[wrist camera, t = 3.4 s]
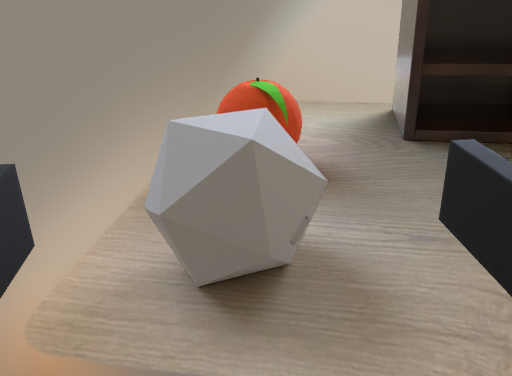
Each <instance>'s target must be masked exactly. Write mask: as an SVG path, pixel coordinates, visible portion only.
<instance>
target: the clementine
mask: <svg viewBox="0 0 512 376" xmlns="http://www.w3.org/2000/svg"><path fill="white" fill-rule="evenodd" d="M260 108H267V109H268V110H269V112H270V113H271V114H272V115H273V116H274V118H275V119H276V120H277V121H278V122H279V124H280V125H281V126H282V127H283V128H284V129H285V131H286V132H287V133H288V134H289V135H290V137H291V138H292V139H293V140H294V141H295V143H296V144H297V142H298V140H299V138H300V134H301V128H302V117H301V111H300V109H299V106H298V104H297V102H296V100H295V99H294V98H293V96H292V95H291V94H290V92H289V91H287V90H286V89H285V88H283V87H282V86H281V85H279V84H277V83H276V82H273V81H267V80H259V78H257V79H256V80H251V81H246V82H243V83H240V84H238V85H237V86H236V87H235V88H233V89H232V90H230V91H229V92H228V93H227V94H226V96H225V97H224V99H223V100H222V101H221V103H220V105H219V108H218V111H217V114H222V113H229V112H237V111H245V110H252V109H260Z"/></svg>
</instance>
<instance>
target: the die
mask: <svg viewBox="0 0 512 376" xmlns="http://www.w3.org/2000/svg"><path fill="white" fill-rule="evenodd" d="M327 184H328V181H327V179H326V178H325V177H324V176H323V175H322V173H321V172H320V171H319V170H318V169H317V168H316V166H315V165H314V164H313V163H312V162H311V160H310V159H309V158H308V157H307V156H306V154H305V153H304V152H303V151H302V150H301V149H300V147H299V146H298V145H297V144H296V143H295V141H294V140H293V139H292V138H291V137H290V135H289V134H288V133H287V132H286V131H285V129H284V128H283V127H282V126H281V125H280V124H279V122H278V121H277V120H276V119H275V118H274V116H273V115H272V114H271V113H270V112H269V110H268V109H267V108H260V109H252V110H245V111H237V112H229V113H222V114H214V115H206V116H198V117H191V118H184V119H175V120H169V121H168V124H167V127H166V131H165V135H164V138H163V142H162V145H161V149H160V152H159V156H158V159H157V163H156V167H155V171H154V174H153V177H152V181H151V184H150V188H149V191H148V195H147V198H146V202H145V206H144V209H145V210H146V212H147V213H148V215H149V216H150V218H151V219H152V221H153V222H154V224H155V225H156V227H157V228H158V230H159V231H160V232H161V234H162V235H163V237H164V238H165V240H166V241H167V243H168V244H169V246H170V247H171V249H172V250H173V252H174V253H175V255H176V256H177V258H178V259H179V261H180V262H181V264H182V265H183V267H184V268H185V270H186V271H187V273H188V274H189V276H190V277H191V278H192V280H193V281H194V283H195V284H196V286H197V287H199V286H203V285H207V284H211V283H215V282H219V281H223V280H227V279H231V278H235V277H239V276H242V275H246V274H250V273H254V272H258V271H262V270H266V269H270V268H274V267H278V266H282V265H286V264H290V263H291V261H292V259H293V257H294V255H295V253H296V250H297V248H298V246H299V244H300V242H301V240H302V238H303V235H304V233H305V231H306V229H307V227H308V225H309V223H310V221H311V218H312V216H313V214H314V212H315V210H316V208H317V206H318V203H319V201H320V199H321V197H322V195H323V193H324V191H325V189H326V186H327Z"/></svg>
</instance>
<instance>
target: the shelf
mask: <svg viewBox="0 0 512 376" xmlns="http://www.w3.org/2000/svg"><path fill="white" fill-rule="evenodd" d="M392 109H393V112H394V115H395V118H396V121H397V124H398V126H399V129H400V132H401V135H402V138H403V140H426V141H451V140H469V139H474V140H476V141H478V142H495V143H512V0H403V1H402V12H401V22H400V34H399V43H398V54H397V64H396V75H395V85H394V96H393V106H392Z"/></svg>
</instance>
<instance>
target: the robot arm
mask: <svg viewBox="0 0 512 376" xmlns="http://www.w3.org/2000/svg"><path fill="white" fill-rule="evenodd" d="M439 220H440V221H441V222H442V223H443V224H444V225H445V226H446V227H447V228H448V230H449V231H450V232H451V233H452V234H453V235H454V236H455V237H456V238H457V239H458V240H459V241H460V242H461V243H462V244H463V245H464V247H465V248H466V249H467V250H468V251H469V252H470V253H471V254H472V255H473V256H474V257H475V258H476V259H477V260H478V261H479V263H480V264H481V265H482V266H483V267H484V268H485V269H486V270H487V271H488V272H489V273H490V274H491V275H492V276H493V277H494V278H495V280H496V281H497V282H498V283H499V284H500V285H501V286H502V287H503V288H504V289H505V290H506V291H507V292H508V293H509V294H510V296H511V297H512V162H510V161H508V160H507V159H505V158H504V157H502V156H500V155H499V154H497V153H495V152H494V151H492V150H491V149H489V148H487V147H486V146H484V145H483V144H481V143H479V142H478V141H476V140H474V139H469V140H451V141H450V146H449V153H448V160H447V167H446V174H445V181H444V188H443V194H442V201H441V208H440V215H439ZM34 246H35V245H34V241H33V237H32V233H31V229H30V225H29V221H28V217H27V213H26V208H25V204H24V200H23V196H22V192H21V188H20V184H19V180H18V176H17V172H16V168H15V164H2V165H0V298H1V297H2V295H3V294H4V292H5V291H6V289H7V287H8V286H9V284H10V283H11V281H12V280H13V278H14V277H15V275H16V274H17V272H18V270H19V269H20V267H21V266H22V264H23V263H24V261H25V260H26V258H27V256H28V255H29V253H30V252H31V250H32V249H33V247H34Z"/></svg>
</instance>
